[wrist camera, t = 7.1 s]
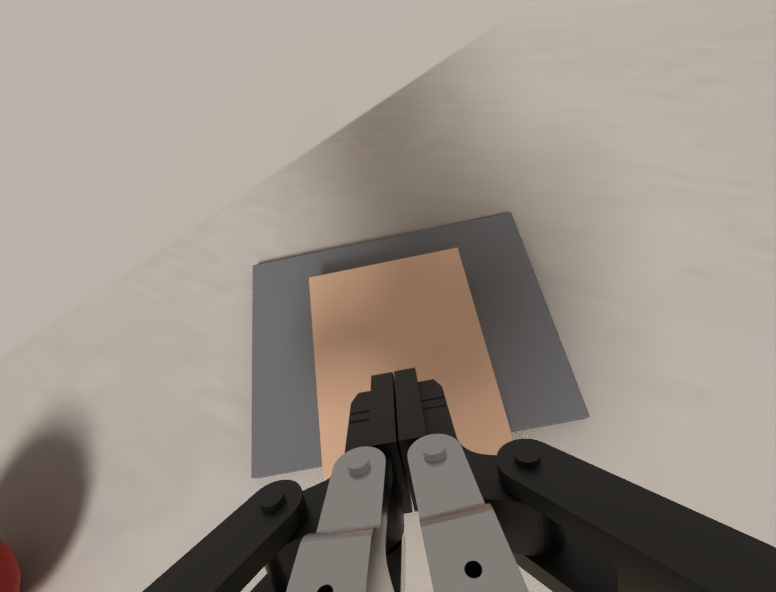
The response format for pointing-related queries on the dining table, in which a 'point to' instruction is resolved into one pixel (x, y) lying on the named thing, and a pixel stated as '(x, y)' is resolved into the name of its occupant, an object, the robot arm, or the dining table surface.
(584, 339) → the dining table surface
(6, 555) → the onion
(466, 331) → the tan flat block
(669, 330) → the dining table surface
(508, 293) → the mat
